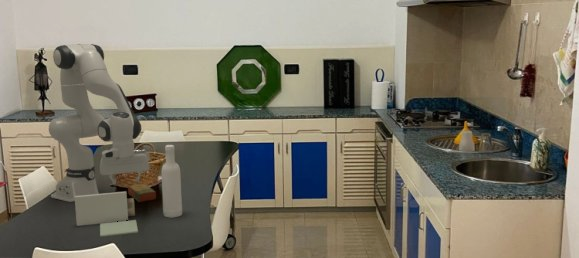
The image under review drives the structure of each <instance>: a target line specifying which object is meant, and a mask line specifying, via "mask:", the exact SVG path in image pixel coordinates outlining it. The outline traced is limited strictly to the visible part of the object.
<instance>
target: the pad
mask: <svg viewBox="0 0 579 258" xmlns="http://www.w3.org/2000/svg"><path fill="white" fill-rule="evenodd" d="M137 224H138V223H137V220H136V219H133V220H132V219H131V220H128V221H118V222H109V223H100V224H99V237H101V238H102V237H109V236H119V235H127V234H128V235H129V234H137V233H139V230H138V225H137Z"/></svg>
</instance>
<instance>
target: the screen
mask: <svg viewBox="0 0 579 258" xmlns="http://www.w3.org/2000/svg"><path fill="white" fill-rule="evenodd" d="M127 194H128V193H127V191H117V192H105V193H104V192H103V193H99V194H93V195H82V196H75V201H74V205H75V207H74V208H75V218H76V221H75V222H76V227H79V226H89V225H98V224H99V225H100V224H102V223H112V222H117V221H118V222H121V221H126V220H128V221H129V216H128V209H127V199H128V198H127V197H128V196H127Z"/></svg>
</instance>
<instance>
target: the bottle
mask: <svg viewBox="0 0 579 258" xmlns="http://www.w3.org/2000/svg"><path fill="white" fill-rule="evenodd" d="M175 150H176V149H175V145H173V144H166V145H165V146H164V151H165V162H164V163H163V165H162V167H161V170H160V172H161V173H160V174H161V189H162V190H161V191H162V192H161V193H162V212H163V216H164V217H166V218H172V219H173V218H178V217H180V216H182V215H183V201H182V198H183V197H182V181H181V180H182V179H181V178H182V176H181V168H180V165H179V164H178V163H177V162H176V159H175V157H176V156H175Z"/></svg>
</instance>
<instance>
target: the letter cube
mask: <svg viewBox="0 0 579 258" xmlns="http://www.w3.org/2000/svg"><path fill="white" fill-rule="evenodd" d="M127 209H128V217H133V216H136V213H135V212H136V211H135V209H136V208H135V200H134V198H133V197H130V198H127Z"/></svg>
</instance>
